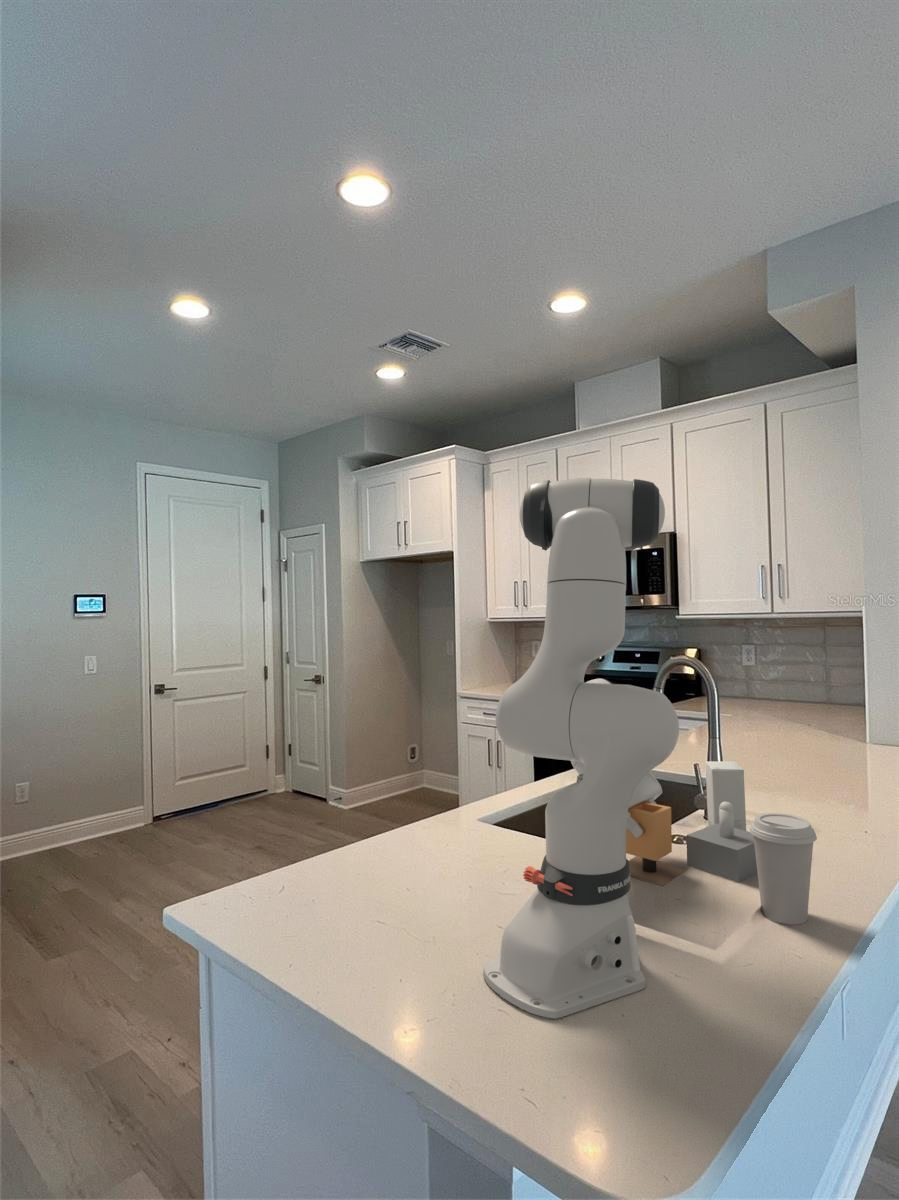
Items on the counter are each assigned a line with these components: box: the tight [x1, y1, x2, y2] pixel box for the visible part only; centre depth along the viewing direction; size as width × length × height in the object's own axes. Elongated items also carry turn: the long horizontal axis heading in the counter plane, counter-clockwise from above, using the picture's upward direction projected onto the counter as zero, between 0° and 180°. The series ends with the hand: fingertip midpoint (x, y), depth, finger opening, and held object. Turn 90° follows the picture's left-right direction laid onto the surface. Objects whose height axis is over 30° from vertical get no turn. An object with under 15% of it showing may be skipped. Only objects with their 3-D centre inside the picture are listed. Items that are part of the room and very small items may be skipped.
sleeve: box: [626, 802, 673, 861], centre depth 125 cm, size 6×6×8 cm
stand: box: [628, 855, 689, 887], centre depth 125 cm, size 10×10×9 cm
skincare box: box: [704, 760, 747, 831], centre depth 144 cm, size 8×7×16 cm
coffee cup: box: [749, 812, 818, 926], centre depth 110 cm, size 10×10×15 cm
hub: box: [686, 802, 758, 883], centre depth 126 cm, size 10×10×13 cm
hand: (651, 829), depth 125 cm, fingers closed on sleeve, 6 cm apart
